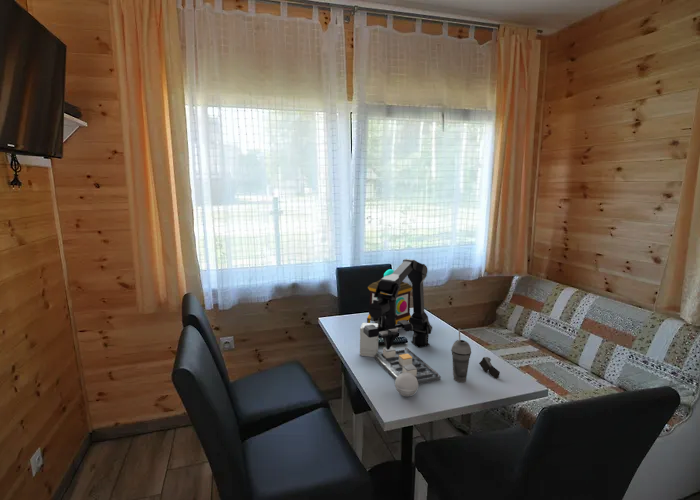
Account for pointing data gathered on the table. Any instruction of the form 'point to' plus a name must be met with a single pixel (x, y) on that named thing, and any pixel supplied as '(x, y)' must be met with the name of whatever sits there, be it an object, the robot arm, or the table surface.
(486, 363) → the black bow tie
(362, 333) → the supplement box
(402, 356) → the block
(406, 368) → the breaker near
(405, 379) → the bath bomb
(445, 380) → the table surface
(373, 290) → the decorative lantern
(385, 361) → the panel
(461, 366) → the beverage cup
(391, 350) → the breaker far
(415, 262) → the robot arm
